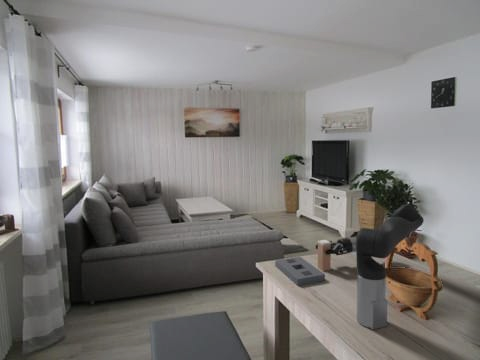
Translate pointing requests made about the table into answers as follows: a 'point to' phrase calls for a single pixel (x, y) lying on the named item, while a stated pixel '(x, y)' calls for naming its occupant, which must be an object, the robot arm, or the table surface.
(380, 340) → the table surface
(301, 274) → the grey flat rectangular block
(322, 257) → the plug
